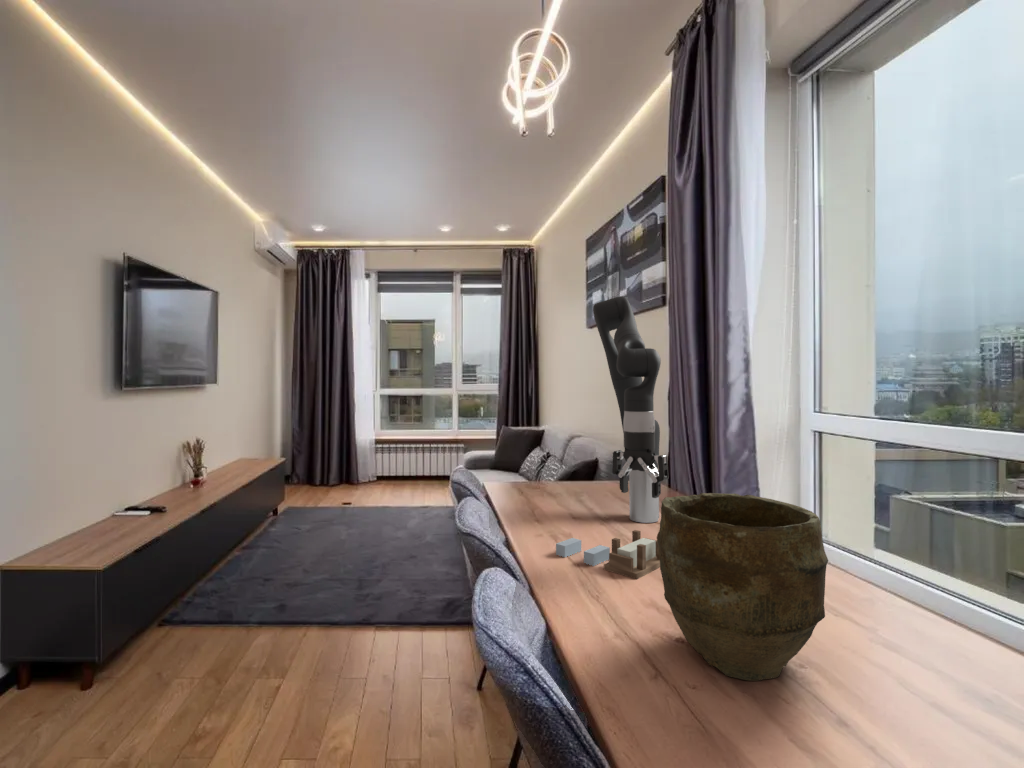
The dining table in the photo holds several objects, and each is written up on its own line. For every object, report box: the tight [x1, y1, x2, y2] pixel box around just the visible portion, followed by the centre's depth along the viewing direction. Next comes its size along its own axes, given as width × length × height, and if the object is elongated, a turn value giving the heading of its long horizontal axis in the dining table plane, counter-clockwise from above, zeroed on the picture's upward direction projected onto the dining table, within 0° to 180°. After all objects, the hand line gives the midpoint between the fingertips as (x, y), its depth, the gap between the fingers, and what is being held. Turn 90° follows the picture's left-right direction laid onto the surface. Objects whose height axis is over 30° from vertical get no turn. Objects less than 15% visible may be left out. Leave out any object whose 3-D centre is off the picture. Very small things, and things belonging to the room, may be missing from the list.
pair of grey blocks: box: [555, 537, 611, 567], centre depth 132 cm, size 7×12×3 cm, turn 45°
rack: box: [603, 529, 660, 580], centre depth 126 cm, size 17×9×7 cm, turn 135°
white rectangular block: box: [617, 537, 656, 567], centre depth 126 cm, size 4×12×4 cm, turn 136°
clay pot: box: [656, 492, 829, 682], centre depth 84 cm, size 25×25×25 cm
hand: (639, 494), depth 126 cm, fingers open, 8 cm apart
